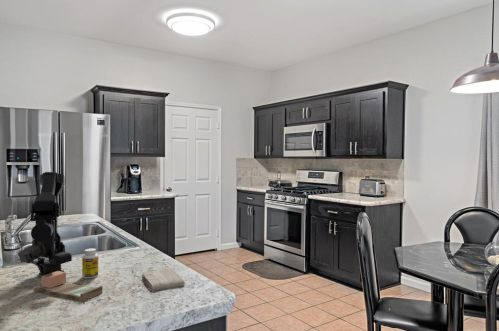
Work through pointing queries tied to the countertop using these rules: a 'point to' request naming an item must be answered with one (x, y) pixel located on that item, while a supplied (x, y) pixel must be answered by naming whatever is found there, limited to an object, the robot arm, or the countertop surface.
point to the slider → (53, 279)
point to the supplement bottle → (90, 264)
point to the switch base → (71, 291)
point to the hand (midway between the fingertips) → (45, 281)
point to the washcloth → (162, 279)
